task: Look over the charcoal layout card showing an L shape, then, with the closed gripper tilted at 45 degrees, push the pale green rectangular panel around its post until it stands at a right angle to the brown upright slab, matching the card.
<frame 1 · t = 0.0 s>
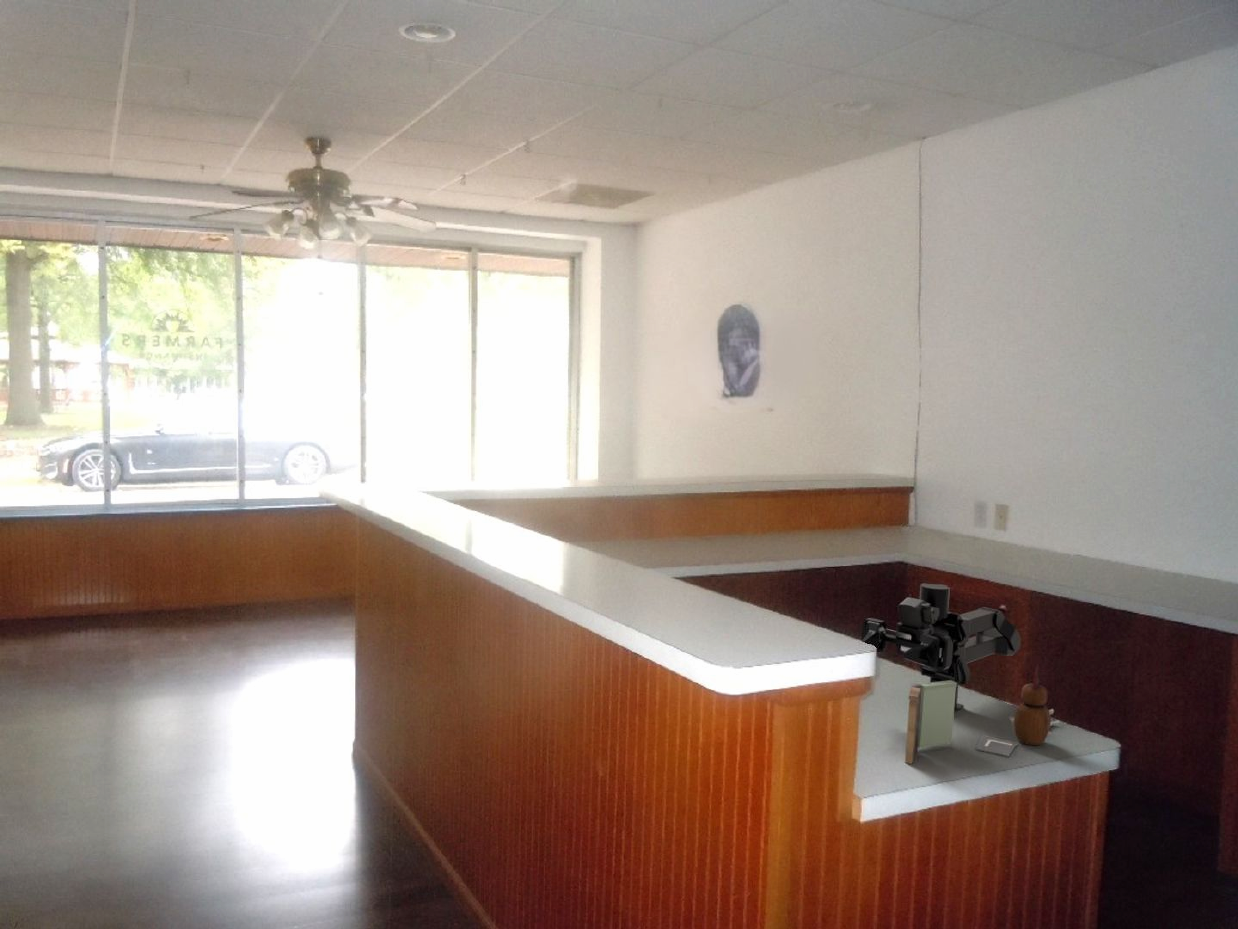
hand: (882, 650, 192), 17 cm above the table, tool horizontal, fingers open, 9 cm apart
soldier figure: (1033, 730, 200), on the table
pale green rectangular panel: (935, 713, 187), point 7 cm above the table, hinge at 45.0°
layout card: (996, 747, 189), on the table
wooden figurine: (1030, 743, 193), on the table
brown upright slab: (911, 751, 185), on the table
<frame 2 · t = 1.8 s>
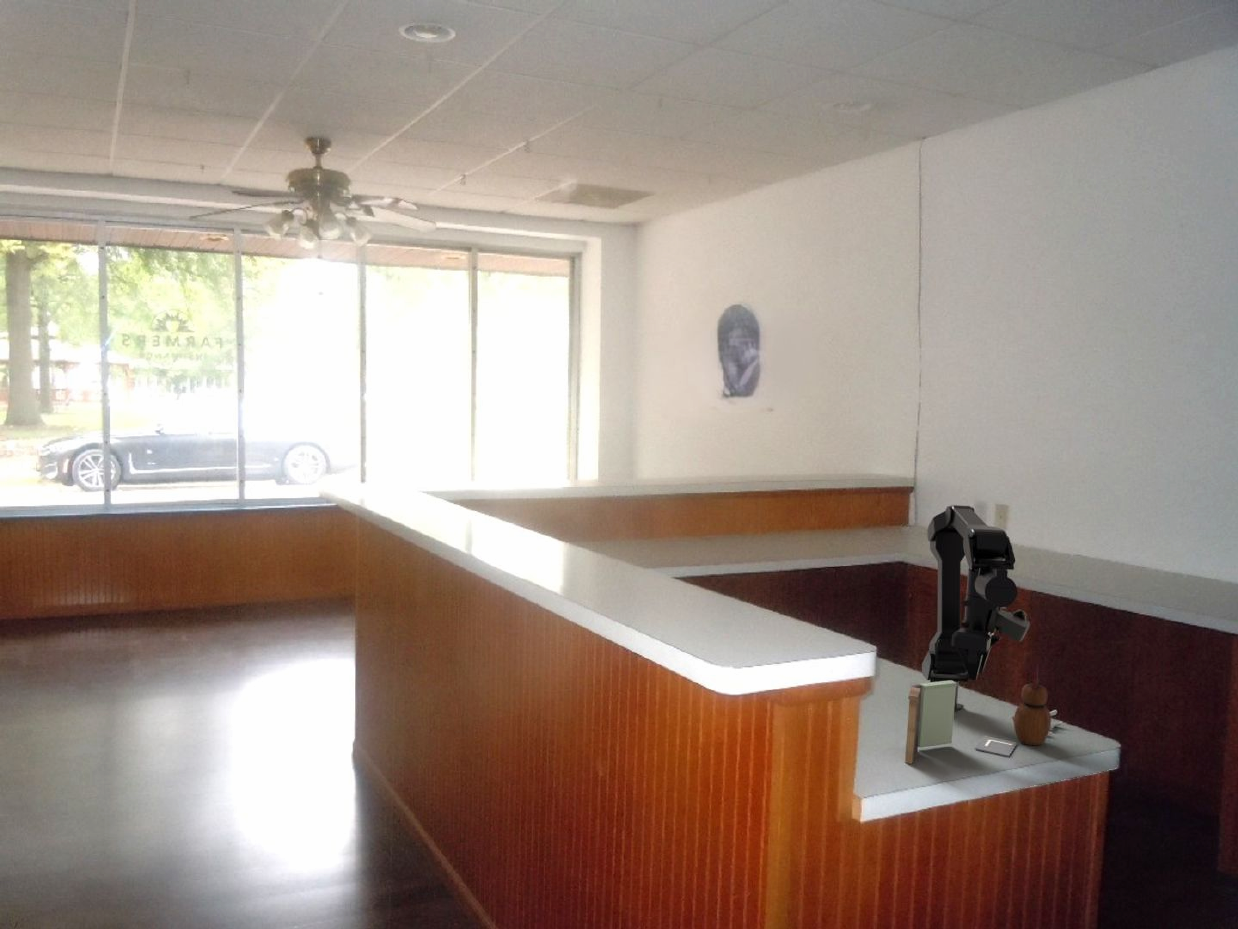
hand: (976, 676, 189), 13 cm above the table, tool pointing down, fingers open, 5 cm apart
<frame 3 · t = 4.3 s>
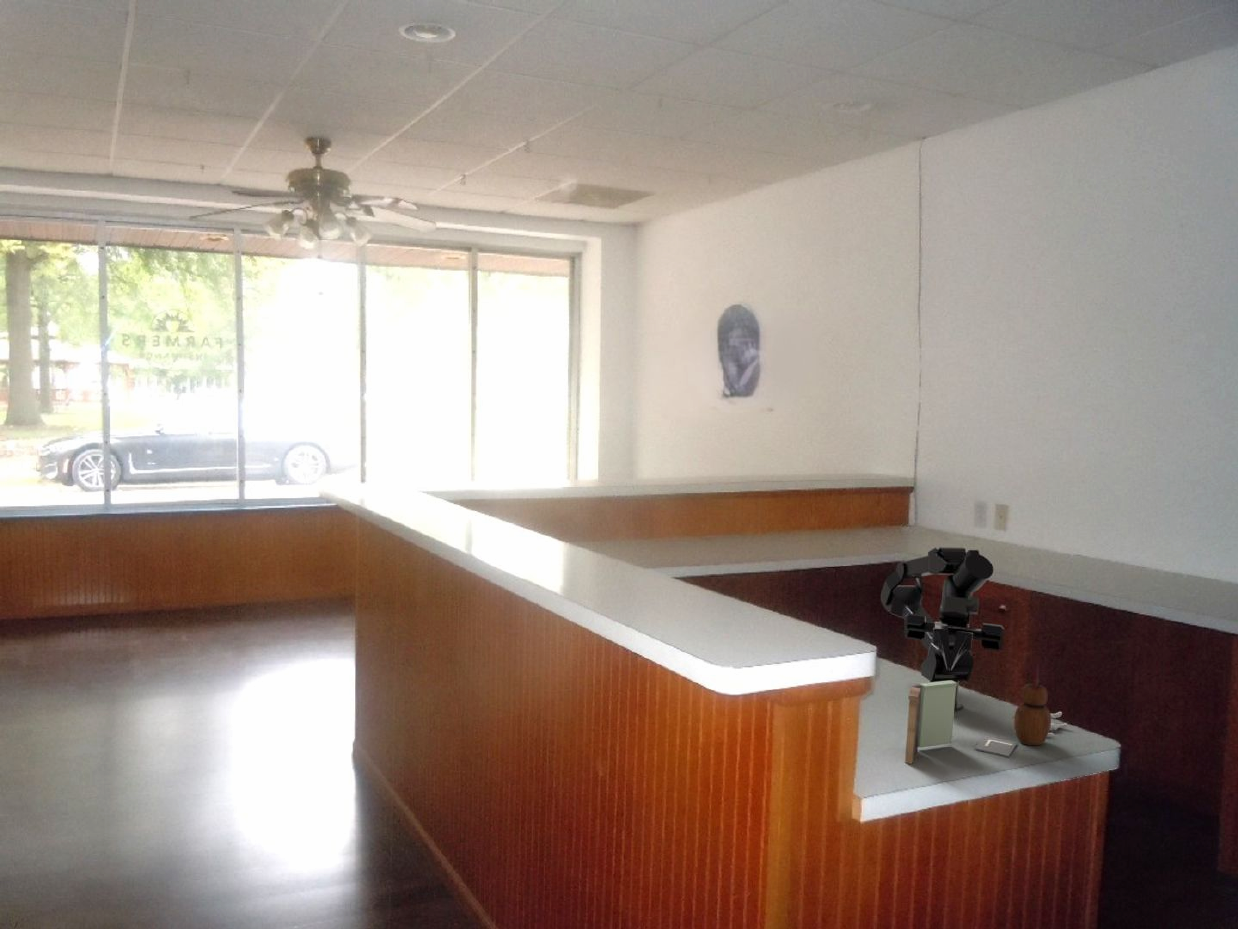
hand: (949, 669, 195), 12 cm above the table, tool tilted 45°, fingers closed
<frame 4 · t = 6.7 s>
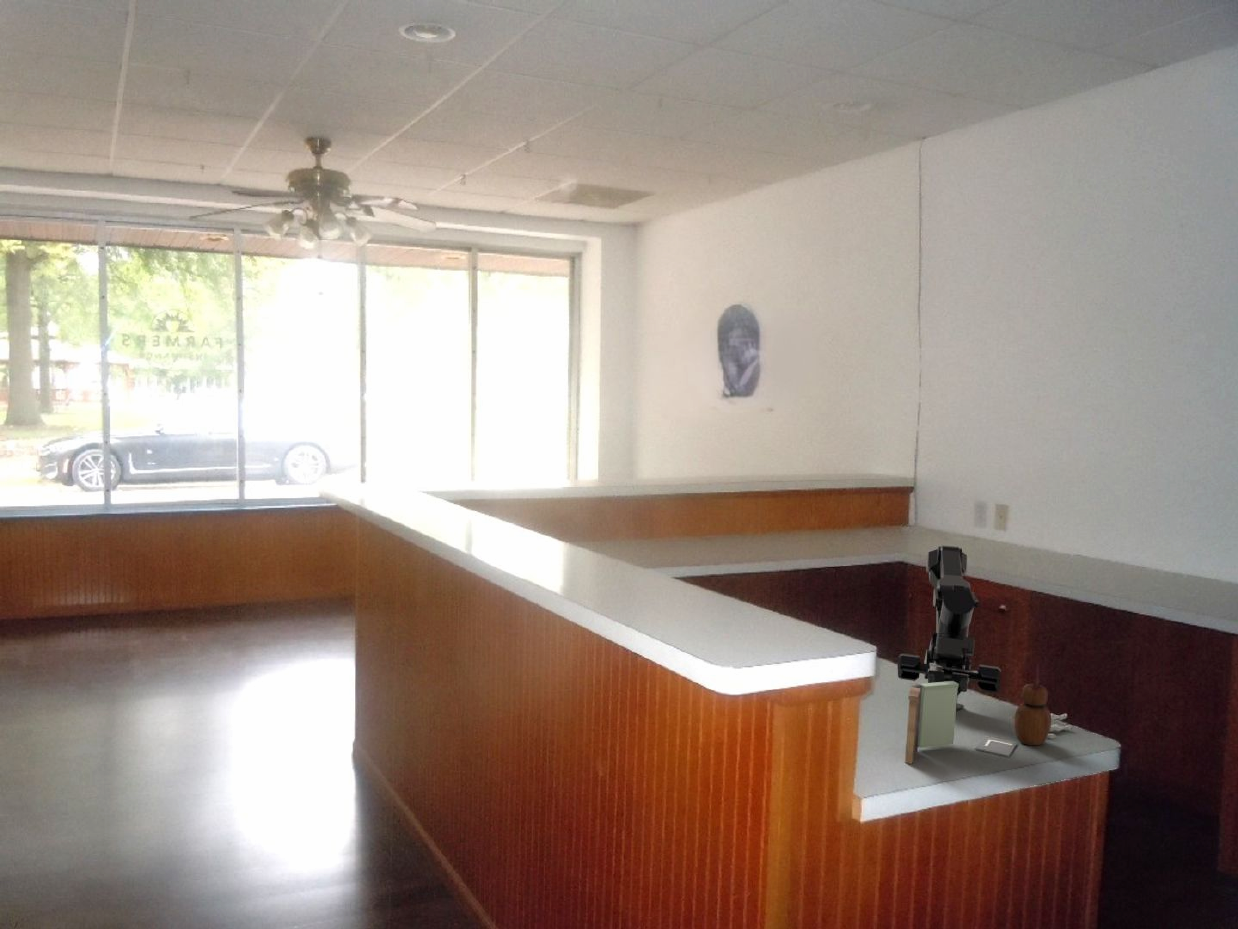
hand: (944, 713, 188), 6 cm above the table, tool tilted 45°, fingers closed
pale green rectangular panel: (936, 714, 186), point 7 cm above the table, hinge at 41.6°, touching gripper
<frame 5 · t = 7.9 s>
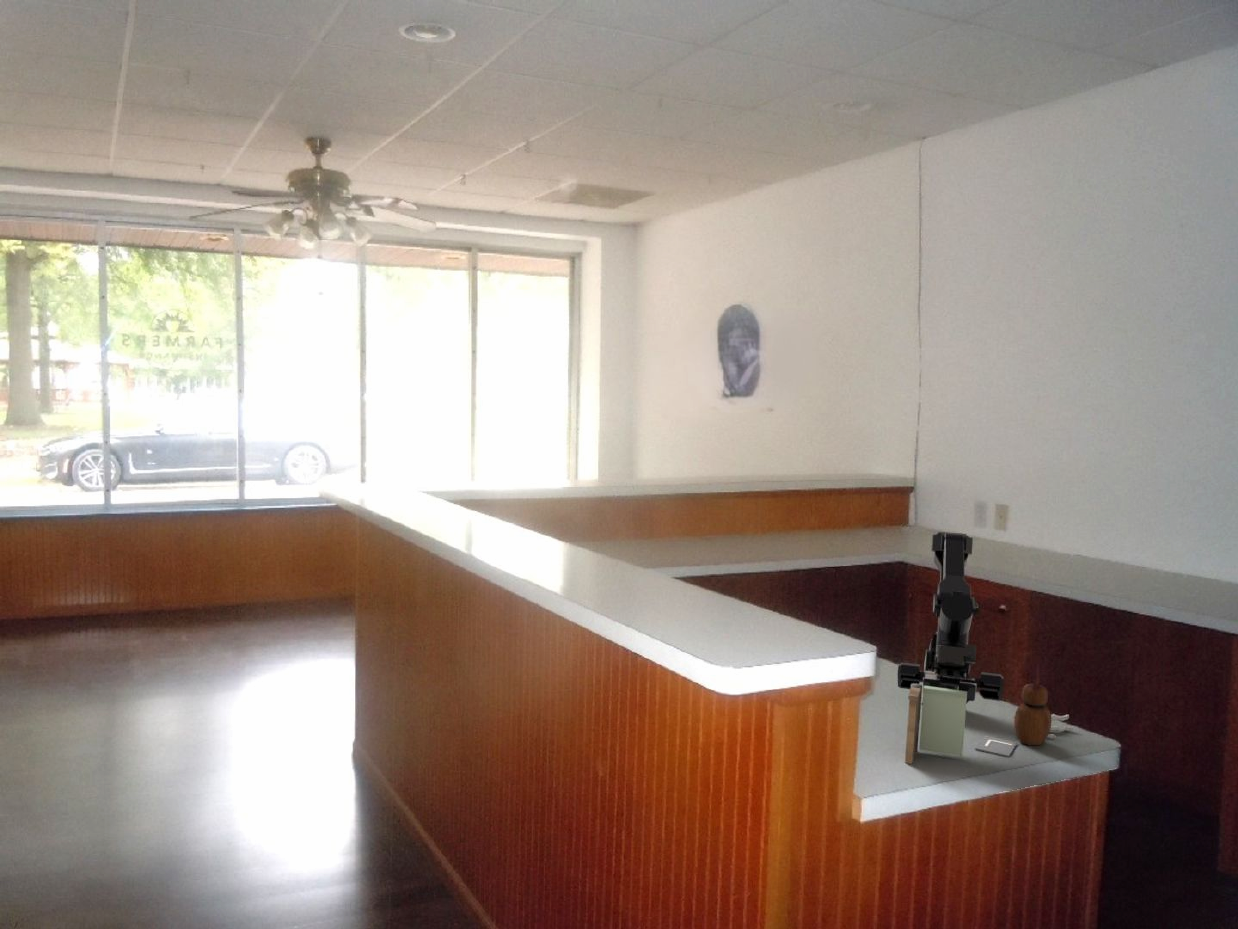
hand: (946, 723, 183), 6 cm above the table, tool tilted 45°, fingers closed, pressing on pale green rectangular panel
pale green rectangular panel: (943, 721, 183), point 7 cm above the table, hinge at 1.3°, touching gripper
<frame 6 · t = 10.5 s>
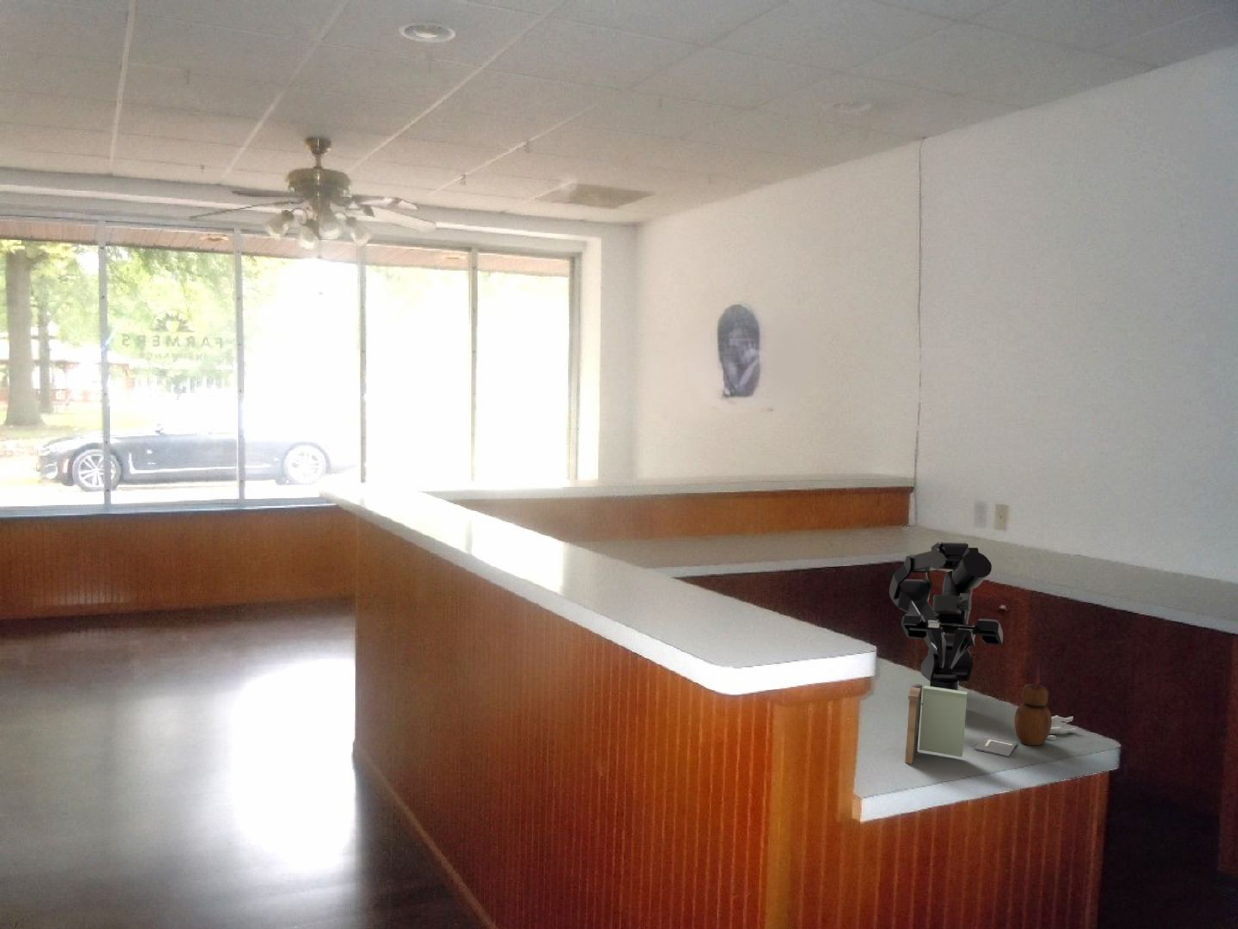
hand: (945, 667, 196), 13 cm above the table, tool tilted 40°, fingers closed
pale green rectangular panel: (942, 721, 183), point 7 cm above the table, hinge at -0.2°
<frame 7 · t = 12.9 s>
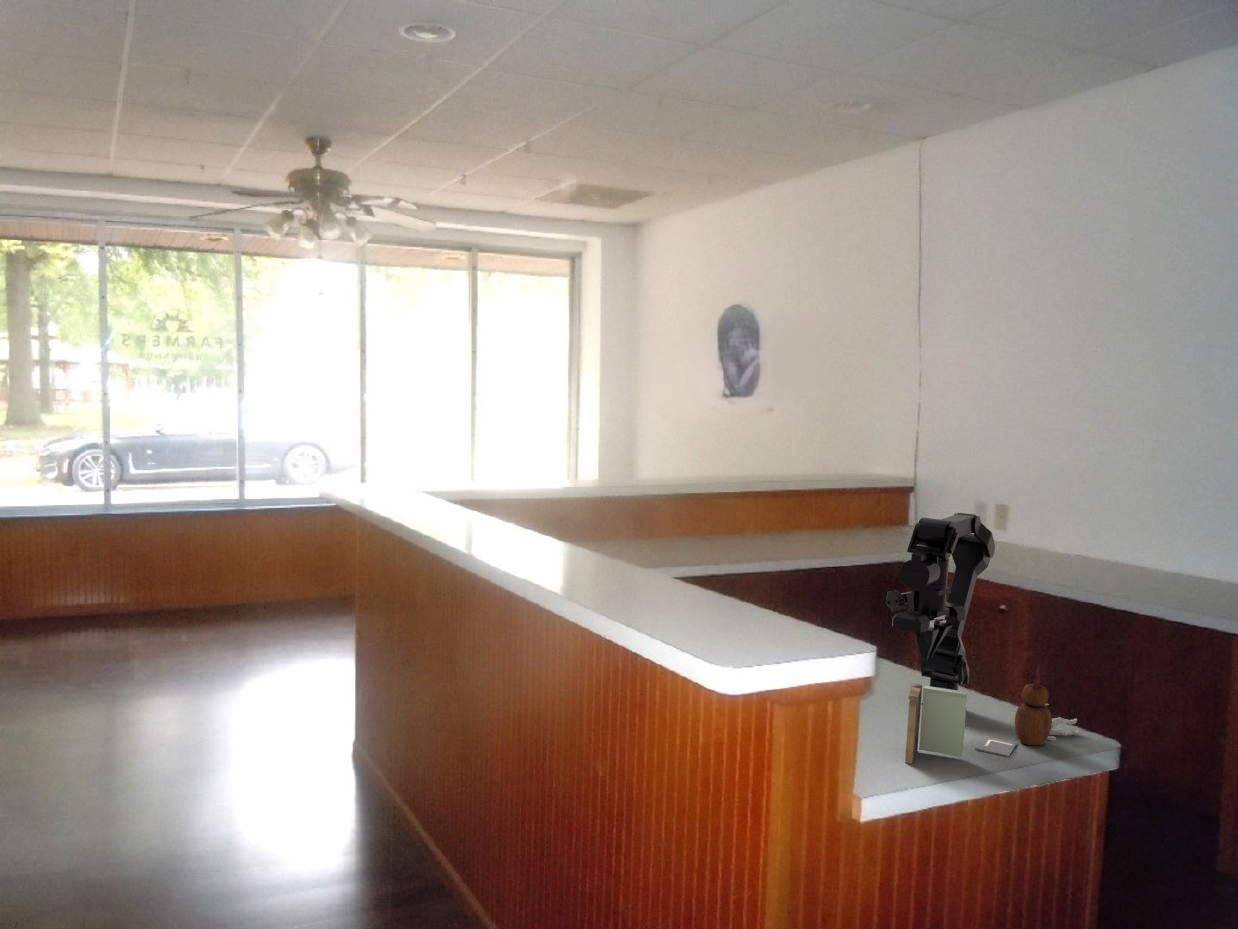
hand: (926, 658, 200), 13 cm above the table, tool pointing down, fingers closed
at the end: pale green rectangular panel at +0° (first picture: +45°) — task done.
